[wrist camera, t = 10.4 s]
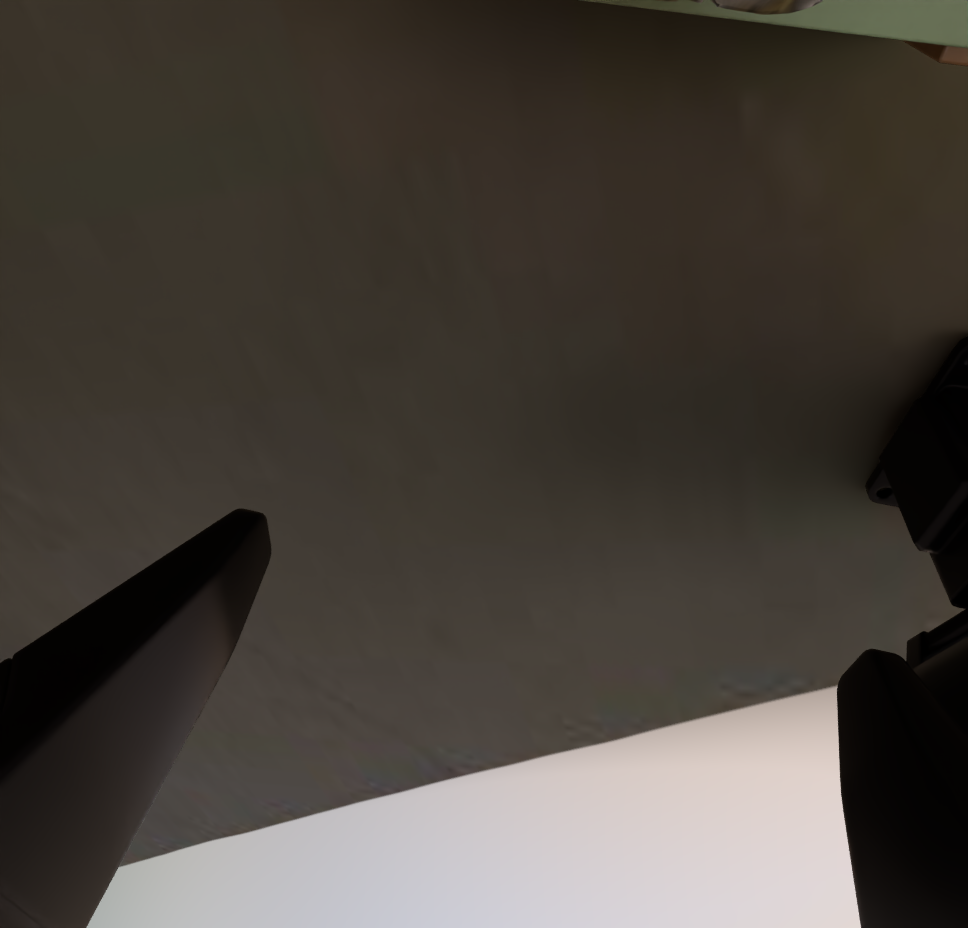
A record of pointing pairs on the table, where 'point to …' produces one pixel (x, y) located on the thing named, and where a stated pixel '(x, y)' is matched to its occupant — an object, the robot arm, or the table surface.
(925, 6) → the rack
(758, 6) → the ornate brown dome cover
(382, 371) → the table surface
